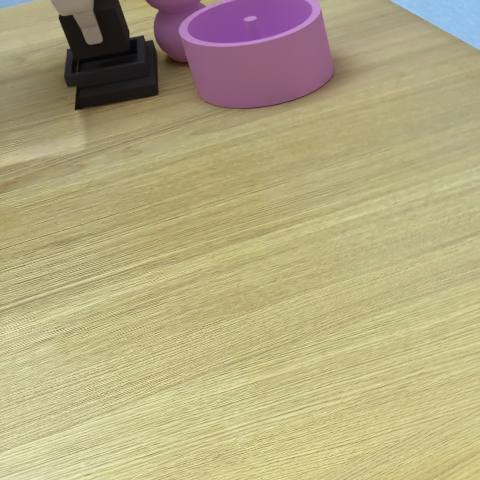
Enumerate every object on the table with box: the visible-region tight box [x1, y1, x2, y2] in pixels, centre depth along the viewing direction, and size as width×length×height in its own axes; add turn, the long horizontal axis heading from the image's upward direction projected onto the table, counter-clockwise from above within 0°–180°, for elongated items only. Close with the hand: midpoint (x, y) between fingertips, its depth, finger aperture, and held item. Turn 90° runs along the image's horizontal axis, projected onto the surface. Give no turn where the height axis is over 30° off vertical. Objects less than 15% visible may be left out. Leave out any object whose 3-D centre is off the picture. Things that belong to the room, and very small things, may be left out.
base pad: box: [63, 34, 160, 111], centre depth 120 cm, size 10×14×3 cm
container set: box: [144, 0, 335, 109], centre depth 115 cm, size 25×15×13 cm, turn 49°
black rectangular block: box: [58, 0, 131, 61], centre depth 117 cm, size 6×6×4 cm
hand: (96, 30), depth 117 cm, fingers closed on black rectangular block, 6 cm apart
